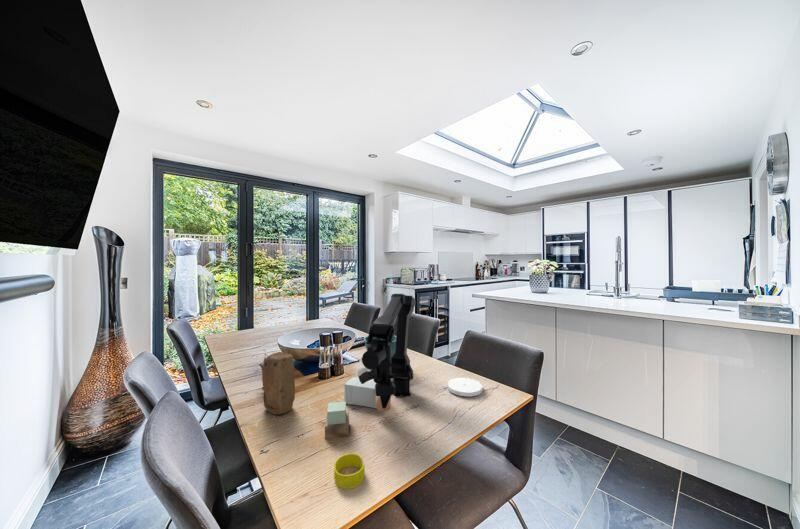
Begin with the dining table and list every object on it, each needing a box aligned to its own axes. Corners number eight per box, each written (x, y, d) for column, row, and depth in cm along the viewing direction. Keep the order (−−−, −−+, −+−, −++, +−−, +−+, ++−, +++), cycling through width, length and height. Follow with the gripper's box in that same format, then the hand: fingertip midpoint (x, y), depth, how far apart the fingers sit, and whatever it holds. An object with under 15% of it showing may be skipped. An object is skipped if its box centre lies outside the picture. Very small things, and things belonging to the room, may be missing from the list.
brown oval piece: (389, 403, 101) (389, 390, 101) (391, 410, 96) (391, 397, 96) (375, 404, 100) (375, 391, 100) (376, 411, 96) (376, 398, 95)
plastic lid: (458, 401, 110) (458, 395, 110) (441, 386, 123) (441, 380, 123) (489, 395, 114) (489, 389, 114) (470, 381, 128) (470, 375, 128)
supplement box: (344, 403, 108) (374, 408, 104) (344, 383, 108) (374, 388, 104) (353, 395, 115) (382, 399, 111) (353, 376, 115) (382, 380, 111)
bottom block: (349, 424, 95) (348, 412, 95) (348, 437, 88) (348, 424, 88) (327, 426, 94) (327, 414, 94) (325, 439, 87) (324, 426, 87)
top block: (345, 413, 94) (345, 401, 94) (345, 423, 89) (345, 410, 89) (328, 415, 93) (328, 403, 93) (327, 425, 88) (327, 412, 88)
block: (297, 408, 105) (296, 353, 105) (279, 418, 99) (278, 360, 98) (277, 401, 111) (276, 349, 110) (259, 410, 104) (258, 355, 104)
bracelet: (337, 493, 67) (337, 479, 67) (331, 470, 74) (331, 458, 74) (368, 483, 70) (367, 470, 70) (359, 462, 77) (358, 450, 77)
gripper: (358, 351, 106) (359, 393, 106) (359, 370, 88) (359, 421, 88) (388, 349, 108) (389, 391, 108) (395, 368, 89) (396, 418, 90)
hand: (383, 404), depth 98 cm, fingers closed on brown oval piece, 5 cm apart
